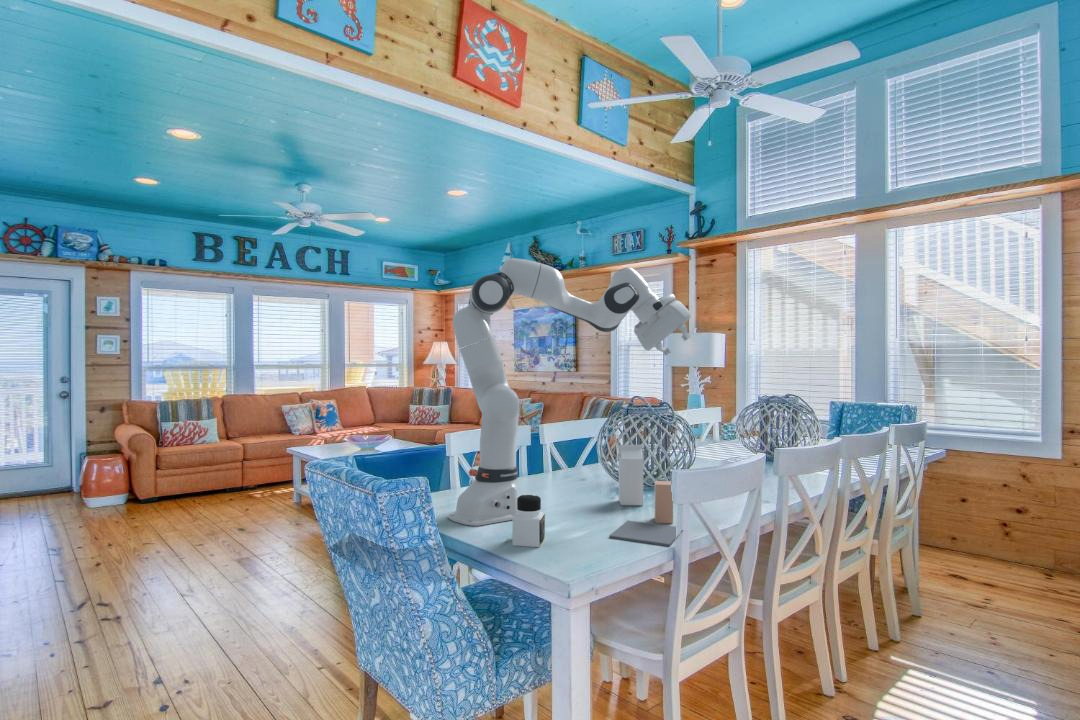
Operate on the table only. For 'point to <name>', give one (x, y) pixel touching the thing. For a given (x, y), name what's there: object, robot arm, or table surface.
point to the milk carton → (631, 475)
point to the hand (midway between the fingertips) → (678, 346)
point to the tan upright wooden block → (663, 502)
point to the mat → (646, 533)
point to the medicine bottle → (528, 522)
